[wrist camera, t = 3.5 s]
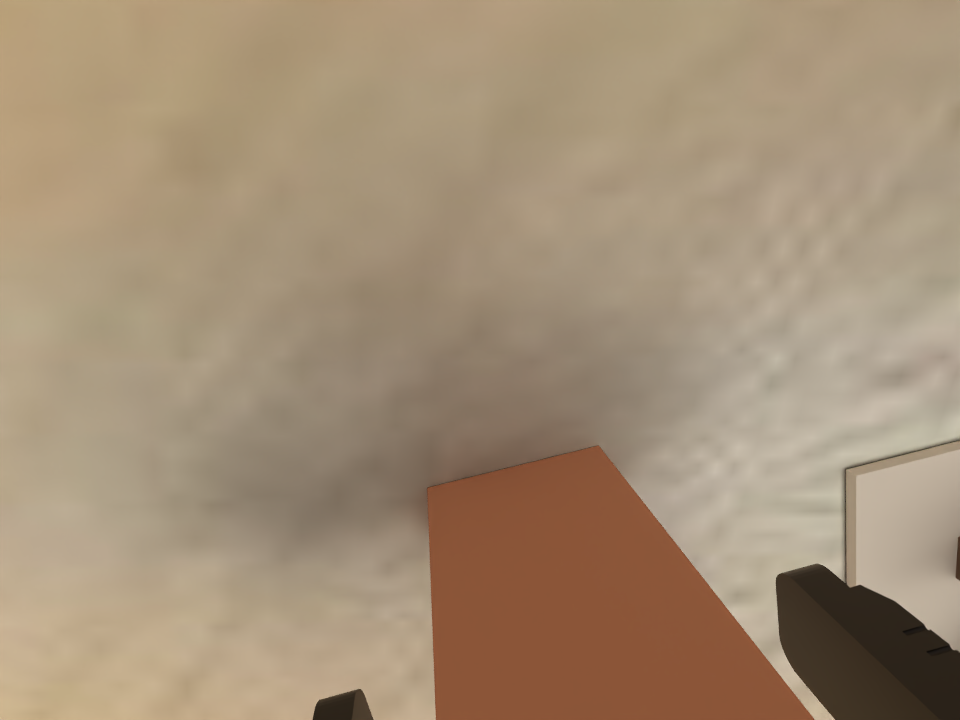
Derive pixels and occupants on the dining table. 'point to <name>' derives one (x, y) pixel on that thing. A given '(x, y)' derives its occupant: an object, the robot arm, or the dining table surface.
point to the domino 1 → (580, 606)
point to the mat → (908, 534)
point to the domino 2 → (958, 561)
